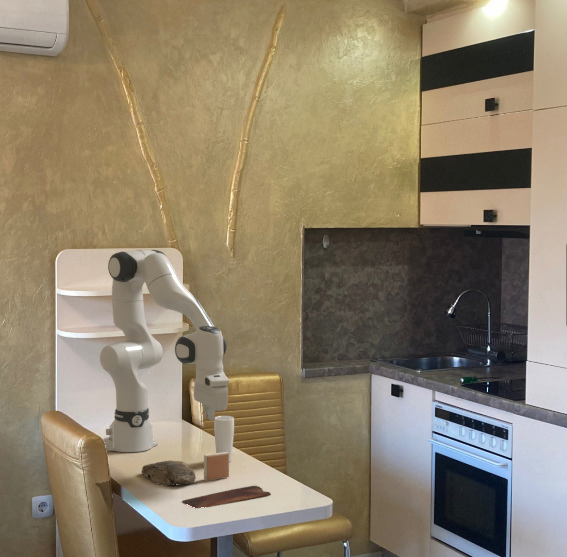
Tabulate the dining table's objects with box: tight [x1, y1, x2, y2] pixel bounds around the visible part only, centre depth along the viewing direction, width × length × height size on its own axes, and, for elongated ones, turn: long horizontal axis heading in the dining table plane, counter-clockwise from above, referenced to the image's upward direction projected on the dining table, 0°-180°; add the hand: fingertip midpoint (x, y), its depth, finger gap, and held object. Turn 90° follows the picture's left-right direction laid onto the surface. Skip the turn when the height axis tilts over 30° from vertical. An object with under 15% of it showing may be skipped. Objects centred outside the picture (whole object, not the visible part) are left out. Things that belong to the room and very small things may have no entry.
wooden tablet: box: [181, 485, 272, 509], centre depth 260 cm, size 26×2×10 cm
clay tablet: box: [141, 460, 196, 487], centre depth 277 cm, size 14×5×20 cm
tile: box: [203, 452, 230, 481], centre depth 278 cm, size 2×8×8 cm, turn 117°
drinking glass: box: [213, 415, 235, 463], centre depth 298 cm, size 7×7×15 cm
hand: (209, 419), depth 283 cm, fingers closed
